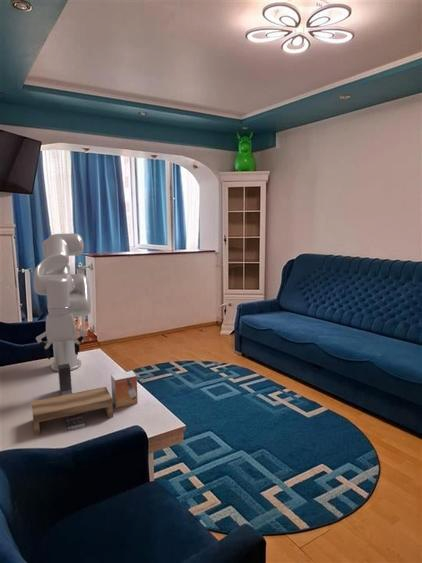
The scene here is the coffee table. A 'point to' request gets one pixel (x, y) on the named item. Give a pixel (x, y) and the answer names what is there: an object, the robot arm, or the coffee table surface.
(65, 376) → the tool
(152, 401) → the coffee table surface
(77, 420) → the token
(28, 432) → the coffee table surface
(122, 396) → the small box
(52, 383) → the coffee table surface
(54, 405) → the bench
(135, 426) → the coffee table surface
